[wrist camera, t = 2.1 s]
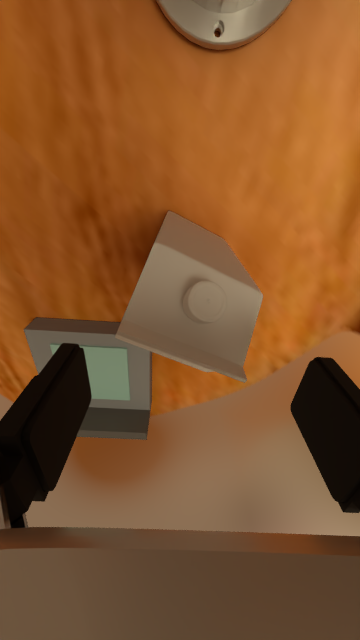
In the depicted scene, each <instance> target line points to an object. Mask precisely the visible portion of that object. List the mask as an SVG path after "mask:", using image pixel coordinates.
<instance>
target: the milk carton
mask: <svg viewBox="0 0 360 640" xmlns="http://www.w3.org/2000/svg"><path fill="white" fill-rule="evenodd" d="M262 299H263V294H262V293H261V291H260V289H259V288H258V286H257V285H256V284H255V282H254V281H253V279H252V278H251V276H250V275H249V274H248V272H247V271H246V269H245V268H244V267H243V265H242V264H241V262H240V261H239V259H238V258H237V257H236V255H235V254H234V252H233V251H232V250H231V248H230V247H229V245H228V244H227V242H226V241H225V240H224V239H223V238H221V237H219V236H217V235H216V234H214V233H212V232H210V231H208V230H206V229H204V228H202V227H200V226H198V225H196V224H195V223H193V222H191V221H189V220H187V219H185V218H183V217H181V216H179V215H177V214H175V213H174V212H171V211H168V212H167V214H166V217H165V219H164V221H163V224H162V226H161V228H160V231H159V233H158V235H157V238H156V240H155V242H154V245H153V247H152V249H151V252H150V254H149V257H148V259H147V261H146V264H145V266H144V269H143V271H142V273H141V276H140V278H139V280H138V283H137V285H136V288H135V290H134V292H133V295H132V297H131V300H130V302H129V304H128V307H127V309H126V312H125V314H124V316H123V319H122V321H121V324H120V326H119V328H118V331H117V334H116V336H115V338H117V339H119V340H122V341H124V342H127V343H130V344H132V345H135V346H138V347H140V348H143V349H146V350H149V351H151V352H154V353H157V354H159V355H162V356H165V357H167V358H170V359H173V360H175V361H178V362H181V363H183V364H186V365H189V366H191V367H194V368H197V369H199V370H202V371H205V372H213V371H215V372H218V373H221V374H223V375H226V376H228V377H231V378H234V379H236V380H239V381H242V382H244V383H245V382H246V381H247V378H246V375H245V372H244V369H243V365H244V361H245V358H246V354H247V351H248V347H249V344H250V340H251V337H252V334H253V330H254V327H255V323H256V320H257V316H258V313H259V309H260V306H261V302H262Z"/></svg>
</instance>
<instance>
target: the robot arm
mask: <svg viewBox="0 0 360 640" xmlns="http://www.w3.org/2000/svg"><path fill="white" fill-rule="evenodd" d="M156 1H157V3H158V5H159V7H160V8H161V10H162V12H163V14H164V15H165V17H166V18H167V19H168V20H169V21H170V23H171V24H172V25H173V26H174V28H175V29H176V30H177V31H178V32H180V33H181V34H182V35H183V36H185V37H186V38H187V39H188V40H190V41H191V42H193V43H196V44H198V45H200V46H202V47H204V48H210V49H216V50H225V49H233V48H237V47H239V46H242V45H244V44H247V43H250V42H251V41H253V40H254V39H256V38H257V37H258V36H260V35H261V34H263V33H264V32H265V31H266V30H267V29H268V28H269V27H271V26H272V25H273V24H274V23H275V22H276V21H277V20H278V19H279V17H280V16H281V15H282V13H283V12H284V11H285V9H286V8H287V6H288V5H289V4H290V2H291V1H292V0H156ZM215 31H219V32H220V37H218V38H217V37H216V36H215V35H214V32H215ZM91 398H92V394H91V388H90V382H89V376H88V371H87V365H86V359H85V353H84V349H83V348H80V346H79V344H73V343H62V344H61V345H60V347H59V348H58V349H57V351H56V352H55V353H54V355H53V356H52V357H51V359H50V360H49V361H48V363H47V364H46V365H45V367H44V368H43V369H42V371H41V372H40V373H39V375H37V376H35V377H34V378H33V379H32V380H31V381H30V383H29V384H28V385H27V386H26V388H25V389H24V390H23V392H22V393H21V394H20V396H19V397H18V398H17V400H16V401H15V402H14V403H13V405H12V406H11V408H10V409H9V410H8V411H7V413H6V414H5V415H4V417H3V418H2V419H1V421H0V640H360V537H359V536H333V535H332V536H331V535H307V534H282V533H281V534H280V533H253V532H223V531H193V530H159V529H157V530H156V529H124V528H78V527H76V528H75V527H74V528H72V527H29V528H28V524H27V519H26V515H25V512H27V511H28V509H29V506H30V505H31V502H32V501H45V499H46V496H47V494H48V492H49V491H53V490H54V488H55V487H56V484H57V482H58V480H59V477H60V475H61V472H62V470H63V468H64V465H65V463H66V460H67V458H68V456H69V453H70V451H71V448H72V446H73V444H74V441H75V439H76V436H77V434H78V432H79V429H80V427H81V424H82V422H83V420H84V417H85V415H86V412H87V410H88V407H89V405H90V402H91ZM291 412H292V415H293V417H294V419H295V421H296V423H297V425H298V427H299V429H300V431H301V433H302V436H303V438H304V439H305V442H306V444H307V446H308V448H309V450H310V452H311V454H312V456H313V458H314V460H315V462H316V465H317V467H318V469H319V471H320V473H321V475H322V477H323V479H324V481H325V483H326V485H327V487H328V489H329V491H330V493H331V495H332V497H333V498H334V499H335V501H337V502H338V503H339V505H340V507H341V509H342V511H343V512H349V513H359V512H360V389H359V388H358V387H357V386H356V385H355V384H354V382H353V381H352V380H351V379H350V378H349V377H348V375H347V374H346V373H345V372H344V371H343V370H342V369H341V367H340V366H339V365H338V364H337V363H336V362H335V361H334V360H333V359H332V358H321V357H316V358H314V360H312V361H310V363H309V364H308V367H307V369H306V371H305V374H304V376H303V378H302V380H301V383H300V385H299V387H298V389H297V392H296V394H295V396H294V399H293V401H292V403H291Z"/></svg>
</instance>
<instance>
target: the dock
mask: <svg viewBox="0 0 360 640" xmlns="http://www.w3.org/2000/svg"><path fill="white" fill-rule="evenodd" d="M120 324H121V322H105V321H88V320H71V319H54V318H38V317H36V318H35V319H34V320H33V321H32V322H31V323H30V324H29V325H28V326H27V327H26V328H25V329H24V332H25V335H26V338H27V341H28V344H29V347H30V350H31V353H32V356H33V359H34V362H35V365H36V368H37V371H38V374H39V373H40V372H41V371H42V369H43V368H44V367H45V365H46V364H47V363H48V361H49V360H50V359H51V357H52V356H53V355H54V353H55V352H56V351H57V349H58V348H59V347H60V345H61V344H62V343H73V344H79V346H80V348H83V349H84V353H85V359H86V365H87V371H88V376H89V382H90V388H91V394H92V398H91V402H90V405H89V407H88V410H87V412H86V415H85V417H84V420H83V422H82V424H81V427H80V429H79V432H78V434H77V436H76V437H98V438H121V439H142V440H143V439H144V440H145V439H146V440H147V432H148V425H149V418H150V410H151V403H152V352H151V351H149V350H146V349H143V348H140V347H138V346H135V345H132V344H130V343H127V342H124V341H122V340H119V339H117V338H115V336H116V334H117V331H118V328H119V326H120Z"/></svg>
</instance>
